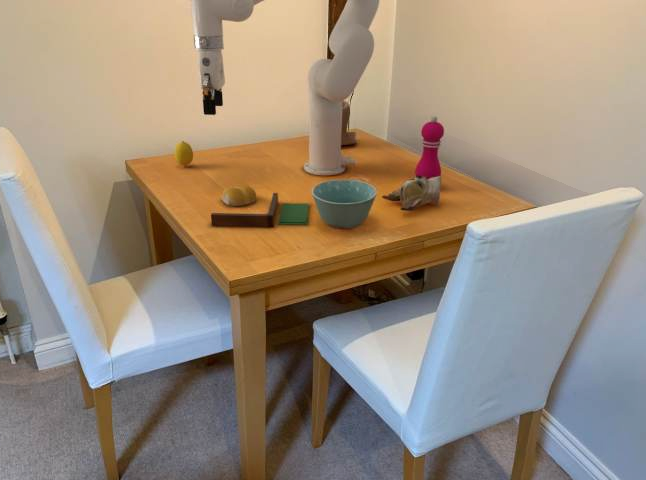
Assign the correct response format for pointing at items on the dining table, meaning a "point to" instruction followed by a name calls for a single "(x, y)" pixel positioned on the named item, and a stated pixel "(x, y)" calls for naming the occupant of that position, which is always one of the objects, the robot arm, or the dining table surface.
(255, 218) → the corner guide
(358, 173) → the dining table surface
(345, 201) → the bowl
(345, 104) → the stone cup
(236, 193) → the bread roll
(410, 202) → the ceramic sculpture
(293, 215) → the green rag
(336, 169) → the robot arm
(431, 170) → the pepper mill
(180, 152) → the lemon
